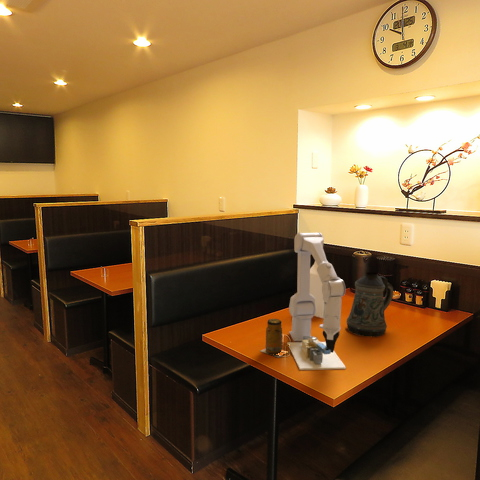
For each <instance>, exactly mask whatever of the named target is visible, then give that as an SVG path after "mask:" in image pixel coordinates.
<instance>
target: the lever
mask: <svg viewBox="0 0 480 480" xmlns="http://www.w3.org/2000/svg"><path fill="white" fill-rule="evenodd" d="M317 339H318V338H317V337H316V336H312V335H311V336H310V337H308V342H309V343H313V344H314V345H315V346H316V348H318V349H319V350H320V351H321V352H322V353H323V354H330V353H331V350H330V349H329V348H328V347H326V346H325V345H324V344H323V343H320V342H321V341H320V340H319V339H318V340H319V341H318V340H317Z"/></svg>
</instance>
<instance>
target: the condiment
mask: <svg viewBox="0 0 480 480" xmlns="http://www.w3.org/2000/svg"><path fill="white" fill-rule="evenodd" d="M266 326H267V327H266V328H265V329H266V330H265V348H264V349H262V350H260V352H262V353H265V354H267V355H271V356H273V357H276V358H281V357H282V356H279V355H276V354H278V353H280V352H281V350H282V349H283V327H282V320H281V319H278V318H270V319H268V320H267V323H266ZM273 354H274V355H273Z"/></svg>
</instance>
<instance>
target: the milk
mask: <svg viewBox="0 0 480 480" xmlns="http://www.w3.org/2000/svg"><path fill="white" fill-rule="evenodd" d="M327 262H328V263H329V261H328V260H327ZM317 267H318V265H317V263H316V261H315V260H314V263H313V264H312V266H310V294H311V295H312V296H313V297H314V298H315V303H316V313H315V315H313V317H317V318H320V319H323V317H324V301H323V293H322V285H323V284H322V282H321V279H320V277H319V275H318V272H317Z"/></svg>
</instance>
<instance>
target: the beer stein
mask: <svg viewBox="0 0 480 480" xmlns="http://www.w3.org/2000/svg"><path fill="white" fill-rule="evenodd" d="M354 287H355V293H354V297H353V301H352V305H351V309H350V312H349V314H348V317H347V319H346V327H347V330H348V331H349V333H352V334H354V335H356V336H358V337H359V336H361V337H364V338H365V337H367V338H377V337H379V338H380V337H382V336H384V335H385V334H386V331H387V326H388V325H387V322H386V317H385V311H386V310H387V308H389V306H390V304H391V303H392V300H393V299H394V298H393V297H394V287H393V285H392V284H391V283H389V281H388V278H386V277H385V276H383V275H379V274H378V273H377V272H366V273H365V274H364V275H363V276H361V277H360V278H358V279H357V280H356V281H355V282H354ZM384 292H385V296H384Z"/></svg>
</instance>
